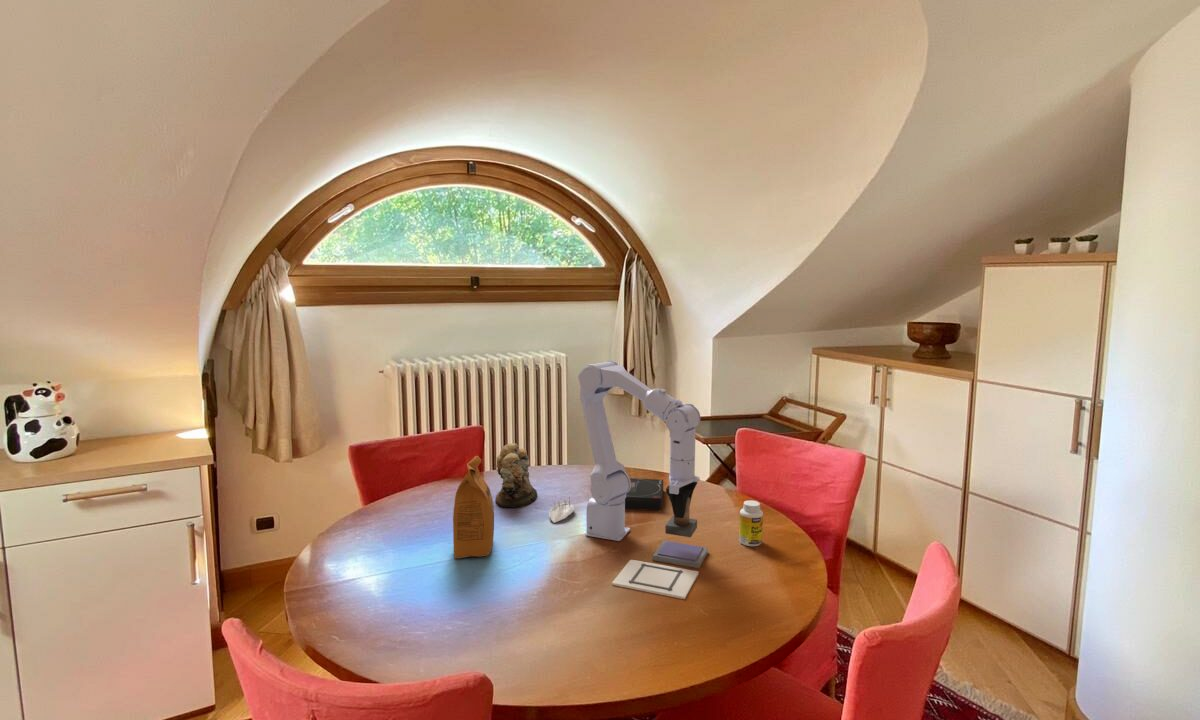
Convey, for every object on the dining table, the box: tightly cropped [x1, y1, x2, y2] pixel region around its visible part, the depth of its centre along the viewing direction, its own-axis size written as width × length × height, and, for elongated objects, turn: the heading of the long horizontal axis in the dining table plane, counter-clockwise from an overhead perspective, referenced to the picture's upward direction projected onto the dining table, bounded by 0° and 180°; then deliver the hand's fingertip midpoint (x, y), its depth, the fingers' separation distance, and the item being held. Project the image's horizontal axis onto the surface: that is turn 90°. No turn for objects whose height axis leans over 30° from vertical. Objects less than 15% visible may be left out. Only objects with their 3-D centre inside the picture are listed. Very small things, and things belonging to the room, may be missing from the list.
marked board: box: [611, 559, 699, 600], centre depth 139 cm, size 16×12×1 cm
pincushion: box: [548, 496, 575, 523], centre depth 175 cm, size 12×6×6 cm, turn 164°
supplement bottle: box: [738, 500, 764, 547], centre depth 157 cm, size 6×6×10 cm
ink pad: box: [652, 539, 709, 569], centre depth 150 cm, size 11×9×2 cm
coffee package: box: [452, 455, 495, 560], centre depth 152 cm, size 10×12×22 cm
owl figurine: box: [495, 442, 538, 509], centre depth 187 cm, size 18×12×17 cm, turn 176°
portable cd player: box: [625, 477, 664, 511], centre depth 188 cm, size 16×17×4 cm
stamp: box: [664, 497, 698, 538], centre depth 149 cm, size 6×6×8 cm
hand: (681, 513), depth 149 cm, fingers closed on stamp, 4 cm apart
